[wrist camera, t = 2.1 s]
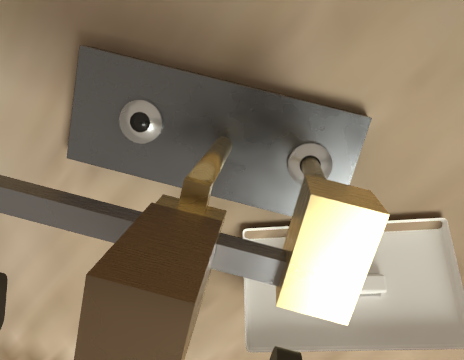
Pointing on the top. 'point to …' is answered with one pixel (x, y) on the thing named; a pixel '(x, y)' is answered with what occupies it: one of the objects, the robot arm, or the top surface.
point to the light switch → (373, 301)
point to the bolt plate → (205, 129)
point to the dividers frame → (249, 252)
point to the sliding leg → (155, 274)
